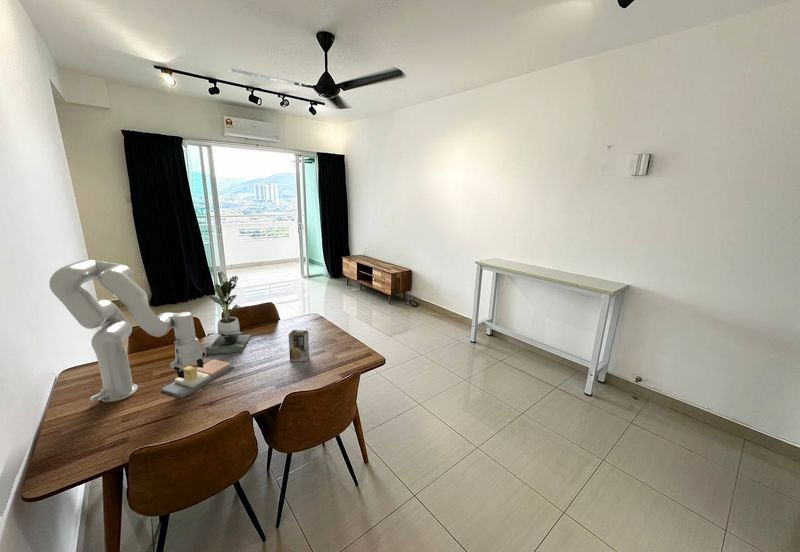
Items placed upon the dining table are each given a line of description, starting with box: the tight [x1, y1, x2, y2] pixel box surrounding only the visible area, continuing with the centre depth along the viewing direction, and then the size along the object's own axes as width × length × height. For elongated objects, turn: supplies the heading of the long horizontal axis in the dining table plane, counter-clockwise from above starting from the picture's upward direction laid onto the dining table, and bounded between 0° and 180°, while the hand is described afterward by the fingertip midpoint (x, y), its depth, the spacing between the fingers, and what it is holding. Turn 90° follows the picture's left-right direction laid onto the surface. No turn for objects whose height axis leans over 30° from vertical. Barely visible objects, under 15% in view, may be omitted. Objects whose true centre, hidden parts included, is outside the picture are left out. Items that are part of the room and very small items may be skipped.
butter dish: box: [174, 365, 210, 388], centre depth 149 cm, size 9×11×7 cm
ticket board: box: [160, 358, 234, 399], centre depth 154 cm, size 28×13×3 cm, turn 161°
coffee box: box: [287, 329, 310, 362], centre depth 175 cm, size 9×6×16 cm
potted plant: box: [205, 271, 252, 355], centre depth 184 cm, size 22×19×45 cm
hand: (191, 372), depth 149 cm, fingers open, 9 cm apart
